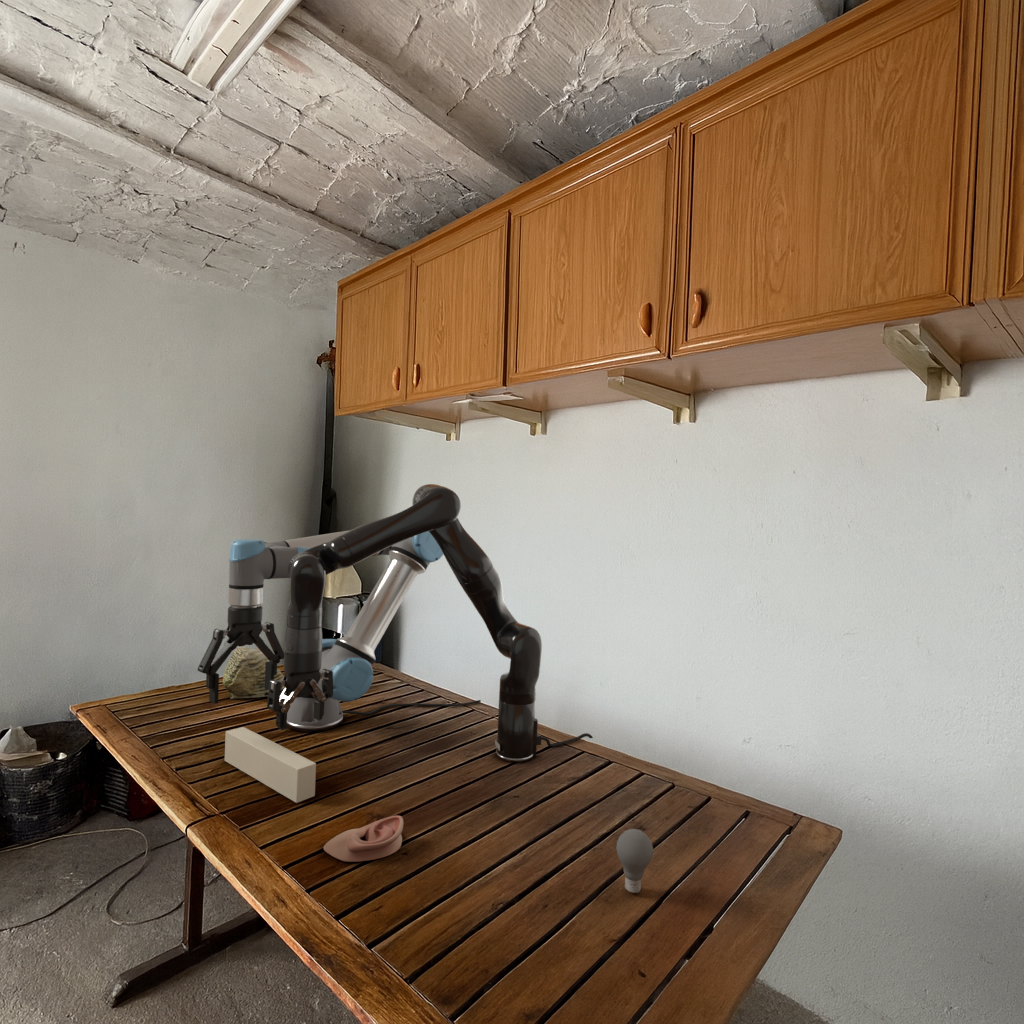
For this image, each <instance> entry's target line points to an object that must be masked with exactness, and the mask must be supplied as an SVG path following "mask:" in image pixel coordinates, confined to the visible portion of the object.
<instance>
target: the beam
mask: <svg viewBox="0 0 1024 1024" xmlns="http://www.w3.org/2000/svg"><path fill="white" fill-rule="evenodd" d="M224 736H225V737H224V739H225V740H224V762H226V763H228V764H229V765H230V766H233V767H235V768H236V769H237V770H240V771H241V772H243V773H244V774H246V775H248V776H249V777H252V778H253V779H254V780H257V781H258V782H260V783H261V784H263V785H264V786H267V787H269V788H270V789H272V790H274V791H275V792H277V793H278V794H280V795H283V796H284V797H285V798H287V799H289V800H290V801H292V802H294V803H296V804H297V803H301V802H303V801H305V800H308V799H310V798H313V797H315V795H316V779H317V778H316V775H317V763H316V762H314V761H312V760H310V759H309V758H306V757H305V756H302V755H301V754H299V753H296V752H294V751H292V750H291V749H288V748H286V747H285V746H282V745H281V744H278V743H276V742H274V741H273V740H270V739H268V738H266V737H265V736H263V735H260V734H258V733H257V732H254V731H253V730H250V729H249V728H247V727H245V726H242V727H241V726H240V727H238V728H233V729H230V730H226V731H225V735H224Z"/></svg>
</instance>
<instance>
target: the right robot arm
mask: <svg viewBox="0 0 1024 1024" xmlns="http://www.w3.org/2000/svg"><path fill="white" fill-rule="evenodd" d="M412 497H413V498H412V505H411V506H409V507H407V508H406V509H404V510H402V511H400V512H397V513H394V514H393V515H392V514H391V515H389V516H385V517H383V518H380V519H376V520H373V521H369V522H366V523H364V524H361V525H359V526H356V527H354V528H353V529H349V530H350V531H349V530H347V531H348V532H346V533H344V534H342V535H340V536H338V537H336V538H334V539H333V540H331V541H329V542H326V543H323V544H321V545H318V546H315V547H313V548H310V549H308V550H305V551H303V552H301V553H299V554H297V555H296V556H294V557H293V558H292V560H291V561H290V563H289V566H288V572H289V575H290V578H289V579H290V590H289V591H290V592H289V593H290V595H289V597H290V598H289V602H288V605H287V614H286V631H285V634H284V651H283V652H284V659H283V671H284V674H283V676H284V678H283V680H273V679H272V680H270V682H269V691H268V696H267V703H266V708H267V710H270V711H272V712H275V714H276V715H275V727H277V729H279V730H280V731H286V730H287V729H288V727H287V713H288V711H287V710H288V709H289V706H290V704H291V703H293V702H294V700H295V698H296V697H297V698H299V697H302V696H304V695H311V694H312V696H313V697H314V698H315V700H316V701H314V718H315V719H317V720H321V719H322V716H323V715H324V703H325V701H326V699H327V698H331V697H332V696H333V671H331V670H328V669H323V670H322V671H321V672H320V669H321V659H322V639H323V628H322V627H323V599H324V594H325V586H326V577H327V575H329V574H331V573H333V572H336V571H337V570H340V569H347V568H350V567H352V566H354V565H356V564H358V563H360V562H363V561H364V560H367V559H368V558H370V557H373V556H372V555H374V554H376V553H378V552H380V551H382V550H384V549H386V548H388V547H390V546H392V545H394V544H397V543H399V542H401V541H403V540H406V539H408V538H411V537H413V536H416V535H419V534H421V533H424V532H428V531H429V532H430V534H431V535H432V536H433V538H434V539H435V540H436V542H437V543H438V545H439V547H440V548H441V550H442V552H443V556H444V558H445V560H446V562H447V564H448V566H449V568H450V569H451V571H452V572H453V574H454V576H455V578H456V581H457V582H458V583H459V585H460V587H461V588H462V590H463V591H464V593H465V594H466V597H468V599H469V601H470V602H471V603H472V605H473V607H474V609H475V610H476V611H477V613H478V614H479V616H480V618H481V619H482V621H483V623H484V624H485V627H486V628H487V630H488V633H489V634H490V636H491V638H492V641H493V643H494V645H495V647H496V649H497V650H498V652H499V653H500V654H501V655H502V656H503V657H505V658H507V659H510V663H509V670H508V672H504V673H503V674H501V675H500V677H499V691H498V714H497V737H496V739H494V746H495V747H496V750H495V755H496V757H497V758H498V759H500V760H502V761H505V762H509V763H524V762H528V761H530V760H532V759H533V758H537V749H538V748H537V747H538V746H542V741H544V742H546V744H547V747H549V748H557V747H561V746H563V745H568V744H570V743H573V742H577V741H580V740H581V739H583V738H589V739H594V737H593V736H592V735H591V734H590V733H588V732H586V733H581V734H580V735H578V736H575V737H572V738H569V739H566V740H562V741H559V742H556V743H551V740H550V739H549V738H548V737H547V736H542V735H541V734H540V733H538V726H539V725H538V724H539V720H538V718H537V717H536V697H537V696H536V695H537V682H538V681H539V678H540V675H541V666H542V657H543V640H542V639H543V638H542V636H541V633H540V632H539V630H538V629H536V628H535V627H532V626H530V625H527V624H524V623H521V622H519V621H518V620H517V619H516V618H515V616H514V615H513V614H512V612H511V610H510V609H509V608H508V605H507V603H506V602H505V599H504V587H503V583H502V582H503V581H502V579H501V576H500V574H499V572H498V570H497V569H496V567H495V566H494V564H493V562H492V560H491V559H490V557H489V555H488V554H487V553H486V552H485V551H484V550H483V548H482V547H481V546H480V545H479V544H478V543H477V542H476V540H475V539H474V538H473V537H471V535H470V534H469V533H468V532H467V530H466V529H465V528H464V527H463V525H462V523H461V521H460V520H459V518H458V517H459V516H460V513H461V507H462V504H461V499H460V497H459V495H458V494H457V493H456V492H455V491H454V490H452V489H450V488H449V487H445V486H443V485H439V484H435V483H434V484H433V483H428V484H423V485H421V486H419V487H418V488H417V489H416V490H415V492H414V494H413V496H412ZM320 679H321V680H322V690H321V689H320V688H319V686H318V685H317V684H318V682H319V680H320ZM283 686H284V687H285V689H284V690H283V692H282V693H280V691H281V690H282V687H283Z"/></svg>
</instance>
